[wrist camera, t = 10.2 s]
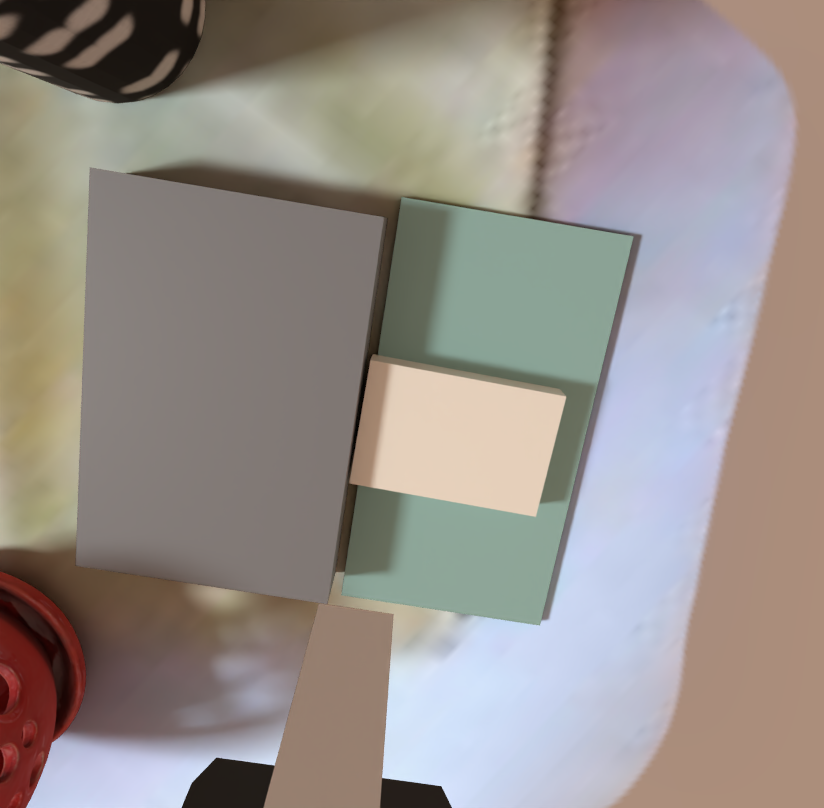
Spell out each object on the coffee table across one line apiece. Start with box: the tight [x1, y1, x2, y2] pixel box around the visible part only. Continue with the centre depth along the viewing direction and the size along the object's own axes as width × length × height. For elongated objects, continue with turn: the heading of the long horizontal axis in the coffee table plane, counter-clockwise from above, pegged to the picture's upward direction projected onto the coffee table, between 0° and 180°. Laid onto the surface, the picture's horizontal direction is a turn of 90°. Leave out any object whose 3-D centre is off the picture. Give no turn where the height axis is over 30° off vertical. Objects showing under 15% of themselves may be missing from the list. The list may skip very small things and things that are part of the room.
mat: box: [341, 197, 634, 625], centre depth 32 cm, size 20×10×1 cm, turn 171°
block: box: [349, 354, 566, 517], centre depth 31 cm, size 6×9×2 cm, turn 79°
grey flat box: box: [76, 168, 388, 604], centre depth 30 cm, size 18×12×3 cm, turn 171°
